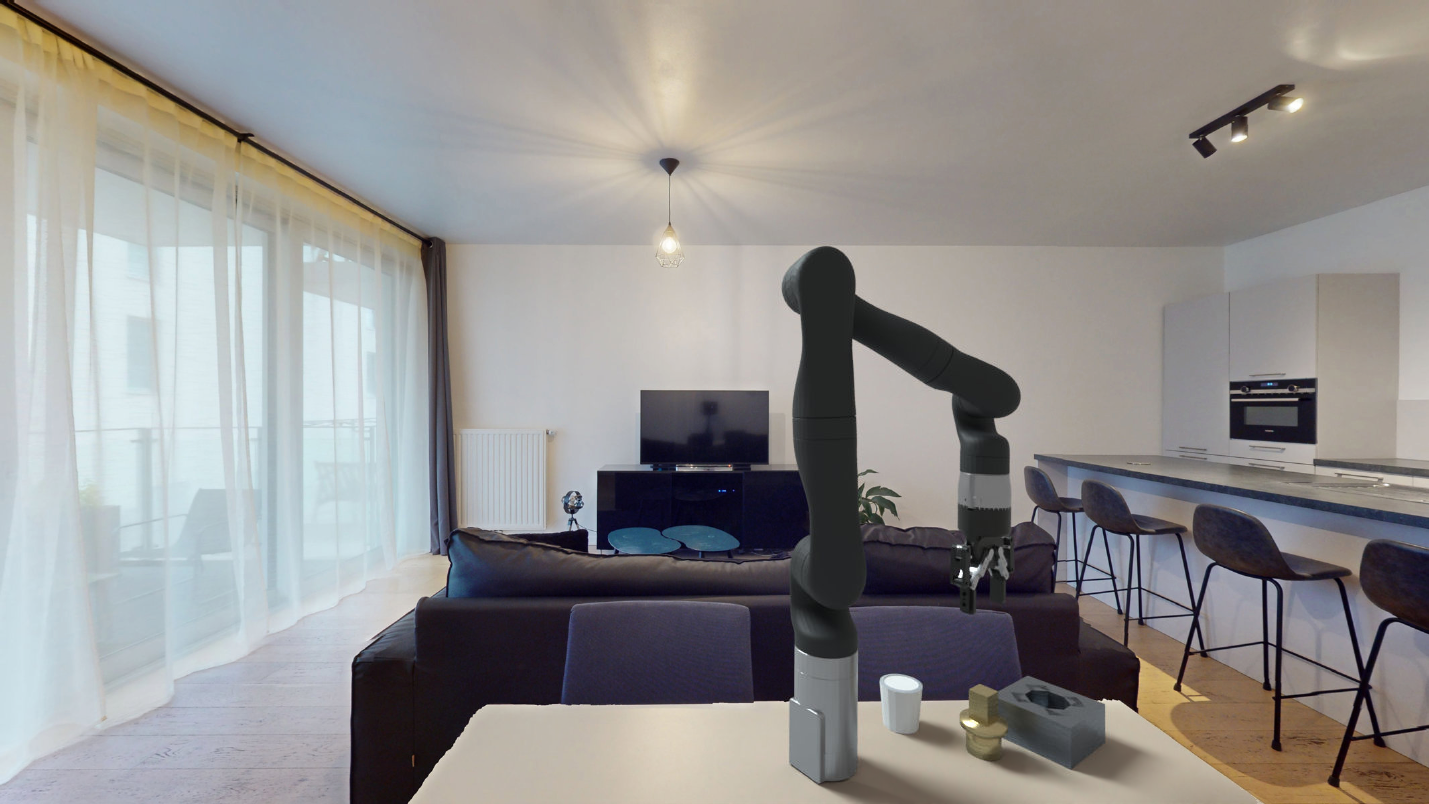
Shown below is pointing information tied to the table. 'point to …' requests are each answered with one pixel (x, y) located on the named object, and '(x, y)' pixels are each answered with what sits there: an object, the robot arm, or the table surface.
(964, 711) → the end cover
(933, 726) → the table surface
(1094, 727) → the housing
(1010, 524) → the robot arm
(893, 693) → the shot glass
